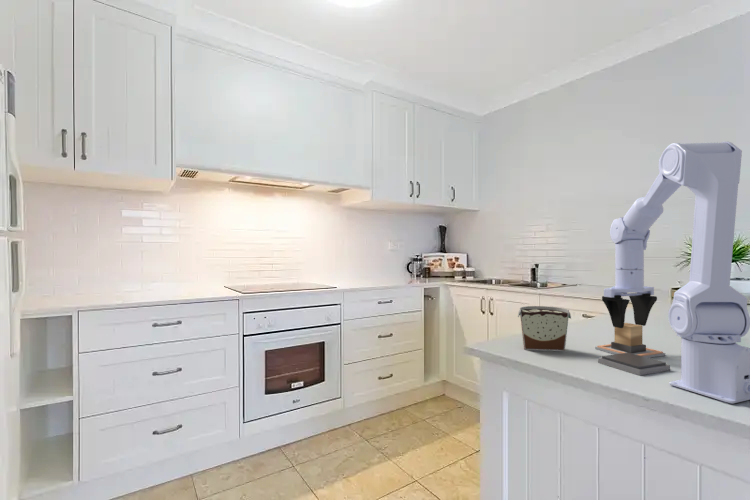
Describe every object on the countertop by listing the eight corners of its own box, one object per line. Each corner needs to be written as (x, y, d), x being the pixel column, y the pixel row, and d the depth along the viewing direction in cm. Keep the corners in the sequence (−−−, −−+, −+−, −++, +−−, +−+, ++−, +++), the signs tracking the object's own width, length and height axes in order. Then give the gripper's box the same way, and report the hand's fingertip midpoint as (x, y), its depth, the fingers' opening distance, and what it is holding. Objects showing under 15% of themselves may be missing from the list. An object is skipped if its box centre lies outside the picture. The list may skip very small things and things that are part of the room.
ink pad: (670, 370, 78) (670, 362, 78) (639, 375, 75) (639, 367, 75) (627, 358, 86) (627, 351, 86) (598, 362, 83) (598, 355, 83)
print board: (665, 355, 89) (665, 351, 89) (635, 359, 85) (635, 356, 85) (623, 345, 98) (623, 342, 98) (595, 348, 94) (595, 345, 94)
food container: (562, 344, 98) (562, 306, 98) (571, 351, 92) (571, 310, 92) (512, 343, 100) (512, 305, 100) (518, 349, 94) (518, 309, 94)
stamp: (645, 351, 90) (646, 325, 90) (631, 353, 88) (631, 327, 88) (625, 346, 95) (625, 322, 95) (611, 348, 93) (611, 323, 93)
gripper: (633, 268, 98) (634, 321, 98) (592, 269, 93) (592, 325, 93) (663, 269, 91) (663, 326, 91) (619, 270, 86) (620, 330, 86)
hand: (629, 326), depth 91 cm, fingers open, 7 cm apart
